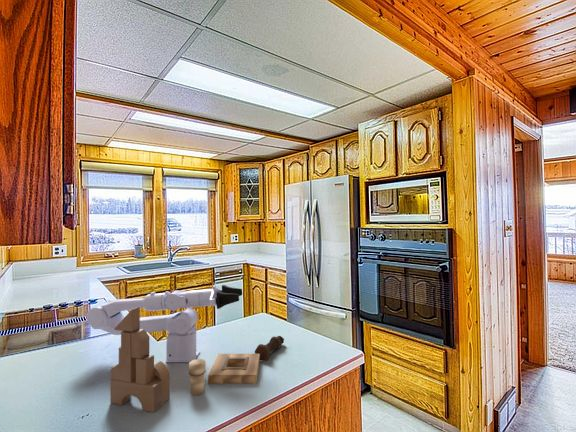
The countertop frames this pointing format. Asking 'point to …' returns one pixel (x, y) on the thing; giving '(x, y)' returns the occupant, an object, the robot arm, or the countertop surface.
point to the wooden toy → (138, 368)
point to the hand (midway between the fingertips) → (240, 294)
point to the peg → (197, 376)
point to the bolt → (269, 347)
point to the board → (234, 368)
